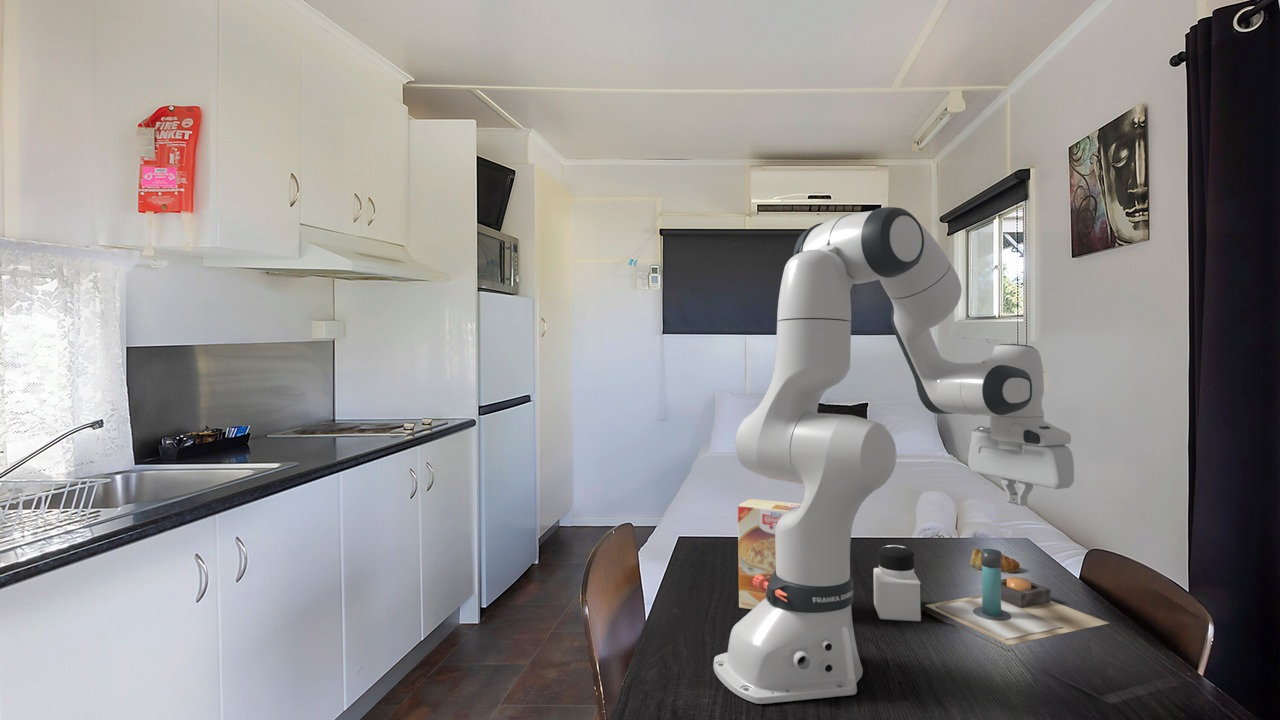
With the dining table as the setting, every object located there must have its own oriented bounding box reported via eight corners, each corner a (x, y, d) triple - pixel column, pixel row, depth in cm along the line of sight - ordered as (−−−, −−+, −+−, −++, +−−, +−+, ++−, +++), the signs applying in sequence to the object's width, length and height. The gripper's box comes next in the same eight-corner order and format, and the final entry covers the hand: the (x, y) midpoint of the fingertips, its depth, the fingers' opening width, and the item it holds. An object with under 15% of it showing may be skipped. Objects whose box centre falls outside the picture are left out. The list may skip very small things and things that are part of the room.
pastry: (1020, 568, 146) (1020, 551, 146) (1018, 577, 141) (1017, 559, 141) (973, 561, 152) (973, 544, 152) (969, 570, 146) (968, 552, 146)
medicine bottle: (921, 622, 118) (920, 554, 118) (879, 619, 120) (878, 553, 120) (913, 607, 125) (912, 543, 125) (873, 604, 127) (872, 541, 127)
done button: (1020, 601, 123) (1020, 585, 123) (1001, 594, 127) (1001, 578, 127) (1036, 598, 125) (1036, 582, 125) (1017, 591, 128) (1017, 575, 128)
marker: (992, 617, 116) (991, 555, 116) (977, 611, 119) (976, 550, 119) (1006, 615, 117) (1005, 553, 117) (991, 608, 120) (990, 548, 120)
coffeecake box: (738, 608, 126) (736, 505, 126) (750, 595, 133) (748, 497, 132) (817, 621, 119) (816, 512, 119) (826, 607, 126) (825, 504, 125)
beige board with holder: (1008, 651, 106) (1007, 629, 106) (924, 610, 123) (924, 591, 123) (1109, 628, 114) (1109, 608, 114) (1018, 593, 131) (1018, 575, 131)
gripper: (960, 425, 134) (960, 494, 134) (1053, 437, 115) (1054, 517, 115) (984, 424, 136) (984, 492, 136) (1080, 435, 117) (1080, 514, 117)
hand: (1017, 504), depth 126 cm, fingers closed
